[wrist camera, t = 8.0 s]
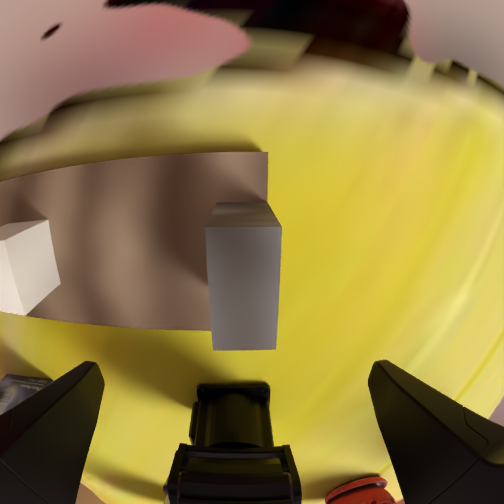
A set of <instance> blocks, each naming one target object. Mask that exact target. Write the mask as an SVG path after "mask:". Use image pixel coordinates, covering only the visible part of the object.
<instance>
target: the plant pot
mask: <svg viewBox="0 0 504 504" xmlns="http://www.w3.org/2000/svg"><path fill="white" fill-rule="evenodd" d="M386 486H387V481H386V480H385V479H383V478H381V477H369V478H363V479H359V480H356V481H353V482H350V483H347V484H345V485H343V486H341V487H339V488H337V489H335V490H333V491H332V492H331V493H330V494H329V495H328V496H327V497H326V500H325V503H326V504H396V502H395V500H394V498H393V497H392V496H391V494H390V493H389V492H388V491H386V490H385V489H384V488H385V487H386Z"/></svg>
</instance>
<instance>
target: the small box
mask: <svg viewBox="0 0 504 504" xmlns="http://www.w3.org/2000/svg"><path fill="white" fill-rule="evenodd" d="M52 382H53V380H51V379H41V378H31V377H23V376H15V375H8V374H6V376H5V377H4V378H3V379H2V381H1V382H0V415H1V414H3V413H4V412H6V411H8V410H9V409H11V408H13V407H14V406H16V405H17V404H19V403H20V402H22V401H23V400H25V399H27V398H28V397H30V396H31V395H33V394H34V393H36V392H38V391H39V390H41V389H42V388H44V387H45V386H47V385H49V384H50V383H52Z"/></svg>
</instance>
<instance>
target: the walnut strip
mask: <svg viewBox="0 0 504 504" xmlns="http://www.w3.org/2000/svg"><path fill="white" fill-rule="evenodd" d="M267 184H268V152H209V153H187V154H171V155H157V156H146V157H136V158H126V159H118V160H110V161H102V162H95V163H88V164H82V165H76V166H70V167H64V168H59V169H54V170H49V171H44V172H39V173H34V174H30V175H25V176H21V177H17V178H13V179H9V180H5V181H1V182H0V227H1V226H4V225H6V224H9V223H18V222H28V221H38V220H48V221H49V227H50V234H51V240H52V245H53V250H54V255H55V260H56V265H57V270H58V274H59V278H60V282H61V284H60V285H58V286H57V287H56V288H55V289H54V290H53V291H52V292H50V293H49V294H48V295H47V296H46V297H45V298H44V299H43V300H42V301H41V302H39V303H38V304H37V305H36V306H35V307H34V308H33V309H32V310H31V311H30V312H29V313H28V314H27V315H26V316H30V317H36V318H43V319H50V320H58V321H65V322H74V323H83V324H93V325H103V326H115V327H129V328H145V329H165V330H202V331H212V342H213V350H272V349H276V338H277V322H278V304H279V284H280V261H281V235H282V226H281V225H280V223H279V221H278V220H277V218H276V216H275V214H274V213H273V211H272V209H271V208H270V206H269V204H268V203H267ZM12 314H13V313H12ZM18 315H19V314H18ZM24 316H25V315H24Z"/></svg>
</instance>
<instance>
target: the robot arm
mask: <svg viewBox="0 0 504 504" xmlns="http://www.w3.org/2000/svg"><path fill="white" fill-rule="evenodd" d="M104 385H105V383H104V379H103V376H102V374H101V371H100V369H99V366H98V364H97V363H95V362H91V361H85V362H83V363H81V364H80V365H78V366H77V367H75V368H74V369H72V370H70V371H69V372H67V373H66V374H64V375H63V376H61V377H60V378H58V379H56V380H55V381H53V382H52V383H50V384H49V385H47V386H45V387H44V388H42V389H41V390H39V391H38V392H36V393H34V394H33V395H31V396H30V397H28V398H27V399H25V400H23V401H22V402H20V403H19V404H17V405H16V406H14V407H13V408H11V409H9V410H8V411H6V412H4V413H3V414H1V415H0V504H75V502H76V498H77V493H78V489H79V485H80V481H81V477H82V473H83V469H84V465H85V461H86V458H87V454H88V451H89V447H90V444H91V440H92V437H93V434H94V430H95V427H96V424H97V419H98V415H99V409H100V405H101V400H102V395H103V391H104ZM368 387H369V390H370V394H371V398H372V402H373V406H374V410H375V415H376V418H377V422H378V425H379V428H380V431H381V433H382V436H383V439H384V442H385V444H386V447H387V450H388V453H389V456H390V459H391V462H392V465H393V468H394V471H395V474H396V477H397V480H398V483H399V486H400V489H401V492H402V495H403V498H404V502H405V504H504V427H503V426H501V425H499V424H497V423H494V422H492V421H490V420H488V419H486V418H484V417H482V416H480V415H478V414H477V413H475V412H473V411H471V410H469V409H468V408H466V407H463V406H462V405H461V404H459V403H457V402H456V401H454V400H452V399H451V398H449V397H447V396H446V395H444V394H442V393H441V392H439V391H437V390H436V389H434V388H432V387H431V386H429V385H427V384H426V383H424V382H422V381H421V380H419V379H417V378H416V377H414V376H412V375H411V374H409V373H407V372H406V371H404V370H403V369H401V368H399V367H398V366H396V365H394V364H393V363H391V362H390V361H388V360H379V361H375V362H374V364H373V366H372V369H371V372H370V375H369V378H368ZM201 389H203V390H201ZM264 389H265V390H264ZM197 396H198V402H194V403H193V408H192V415H191V422H190V430H189V438H190V441H191V444H192V445H187V444H184V443H180V445H179V448H178V450H176V453H175V457H174V460H173V464H172V467H171V470H170V474H169V476H168V478H167V480H166V482H165V484H164V487H163V491H164V492H165V493H166V494H167V496H168V498H169V502H170V504H301V501H302V493H301V483H300V478H299V475H298V471H297V468H296V465H295V462H294V458H293V455H292V452H291V449H290V445H282V446H276V447H274V443H273V435H272V426H271V418H270V410H269V403H270V386H269V385H268V384H248V385H210V384H200V385H198V386H197Z"/></svg>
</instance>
